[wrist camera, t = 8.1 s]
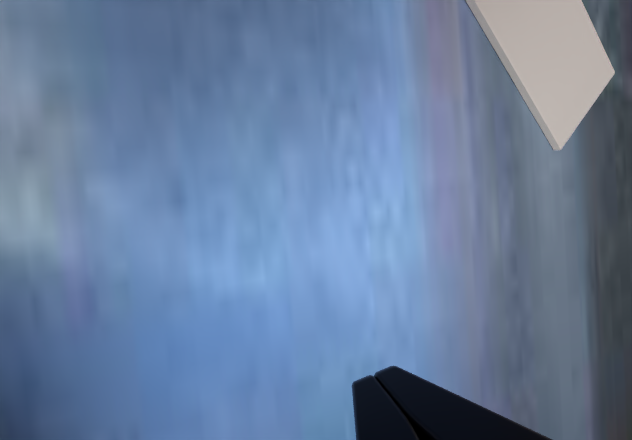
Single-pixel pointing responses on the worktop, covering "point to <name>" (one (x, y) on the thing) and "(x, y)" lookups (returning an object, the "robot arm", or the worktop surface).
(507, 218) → the worktop surface
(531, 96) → the beige flat rectangular board
